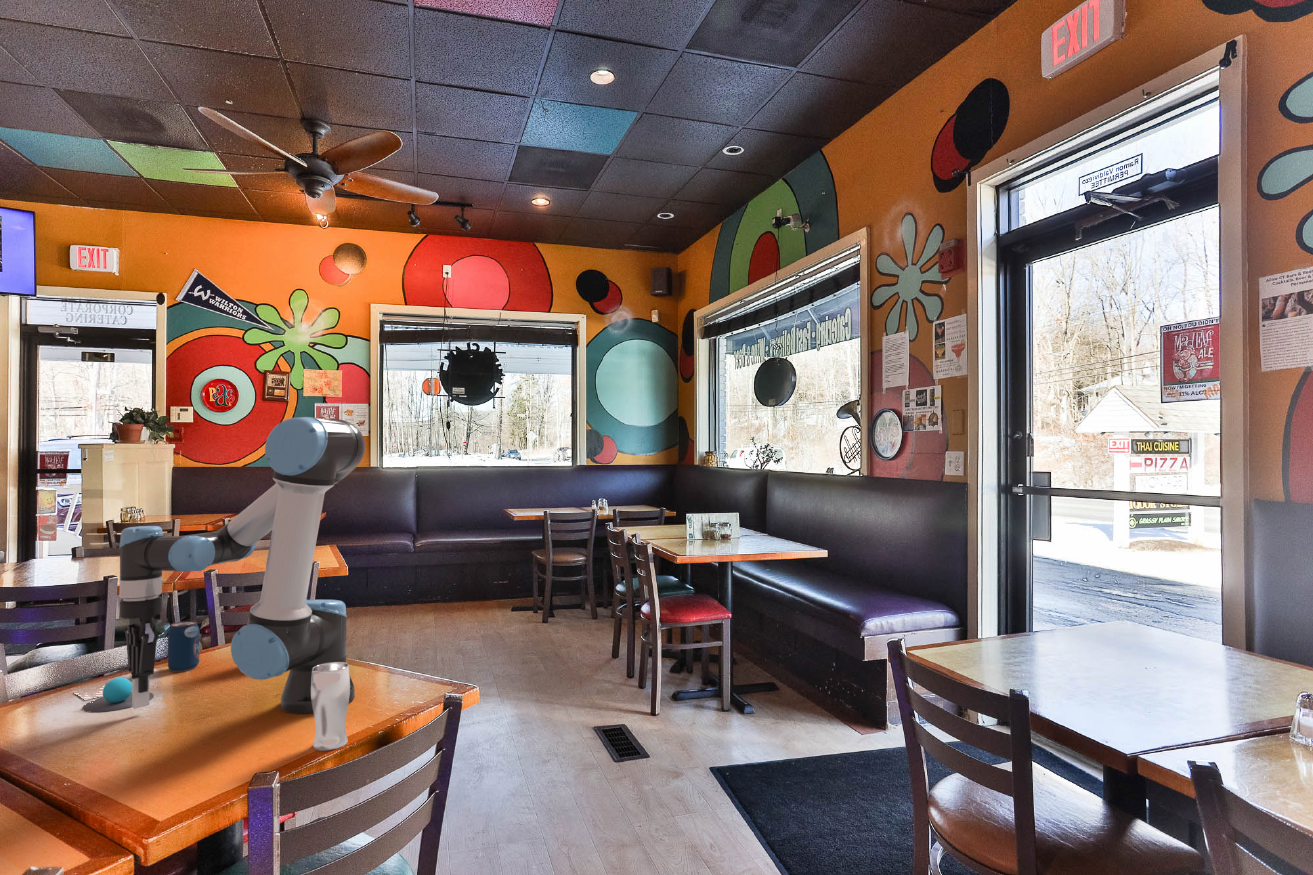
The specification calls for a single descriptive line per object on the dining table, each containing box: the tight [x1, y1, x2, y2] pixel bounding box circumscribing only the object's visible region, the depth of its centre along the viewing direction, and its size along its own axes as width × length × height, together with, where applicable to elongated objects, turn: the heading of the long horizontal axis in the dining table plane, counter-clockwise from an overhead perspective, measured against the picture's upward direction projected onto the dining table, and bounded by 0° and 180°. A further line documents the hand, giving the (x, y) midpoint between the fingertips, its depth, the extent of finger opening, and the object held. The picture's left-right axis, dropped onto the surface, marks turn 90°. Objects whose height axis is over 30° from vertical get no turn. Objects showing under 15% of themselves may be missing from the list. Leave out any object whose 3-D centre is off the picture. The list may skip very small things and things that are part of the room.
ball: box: [103, 677, 132, 703], centre depth 164 cm, size 6×6×6 cm
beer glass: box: [311, 662, 351, 752], centre depth 139 cm, size 7×7×15 cm
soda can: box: [167, 620, 200, 673], centre depth 190 cm, size 7×7×12 cm
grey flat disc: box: [82, 691, 155, 713], centre depth 164 cm, size 13×13×1 cm
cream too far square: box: [73, 685, 105, 701], centre depth 171 cm, size 9×9×1 cm
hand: (140, 706), depth 156 cm, fingers closed
